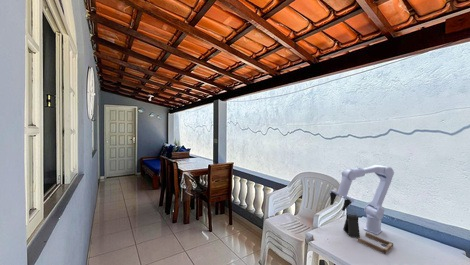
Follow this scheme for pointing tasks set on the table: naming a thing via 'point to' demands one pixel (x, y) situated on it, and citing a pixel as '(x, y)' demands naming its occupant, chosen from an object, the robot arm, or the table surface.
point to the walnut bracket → (385, 250)
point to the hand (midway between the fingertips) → (337, 207)
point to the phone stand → (352, 226)
